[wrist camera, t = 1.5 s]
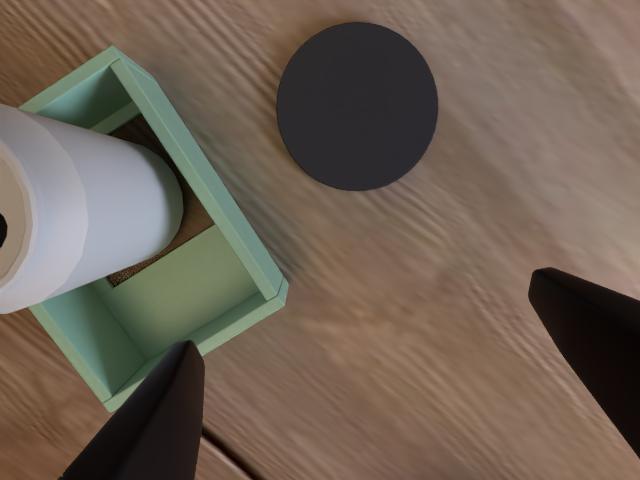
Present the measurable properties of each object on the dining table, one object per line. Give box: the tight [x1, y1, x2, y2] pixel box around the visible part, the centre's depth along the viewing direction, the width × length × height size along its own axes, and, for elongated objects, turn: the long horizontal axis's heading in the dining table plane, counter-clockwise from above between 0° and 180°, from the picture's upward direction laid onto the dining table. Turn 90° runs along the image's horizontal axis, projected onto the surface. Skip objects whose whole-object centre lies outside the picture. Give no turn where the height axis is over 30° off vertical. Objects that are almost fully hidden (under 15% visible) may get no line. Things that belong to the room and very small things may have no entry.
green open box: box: [17, 45, 289, 413], centre depth 20 cm, size 15×11×4 cm
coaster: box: [276, 22, 438, 191], centre depth 22 cm, size 10×10×1 cm
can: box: [0, 104, 184, 314], centre depth 16 cm, size 8×8×12 cm
